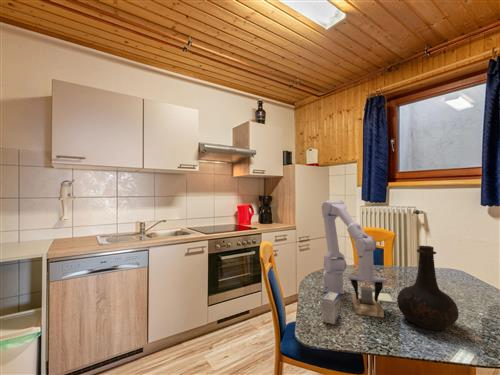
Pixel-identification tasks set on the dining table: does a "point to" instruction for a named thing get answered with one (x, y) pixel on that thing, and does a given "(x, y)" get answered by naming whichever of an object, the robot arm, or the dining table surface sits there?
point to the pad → (383, 297)
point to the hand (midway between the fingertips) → (366, 299)
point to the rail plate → (367, 307)
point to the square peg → (366, 295)
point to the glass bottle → (427, 297)
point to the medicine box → (330, 307)
